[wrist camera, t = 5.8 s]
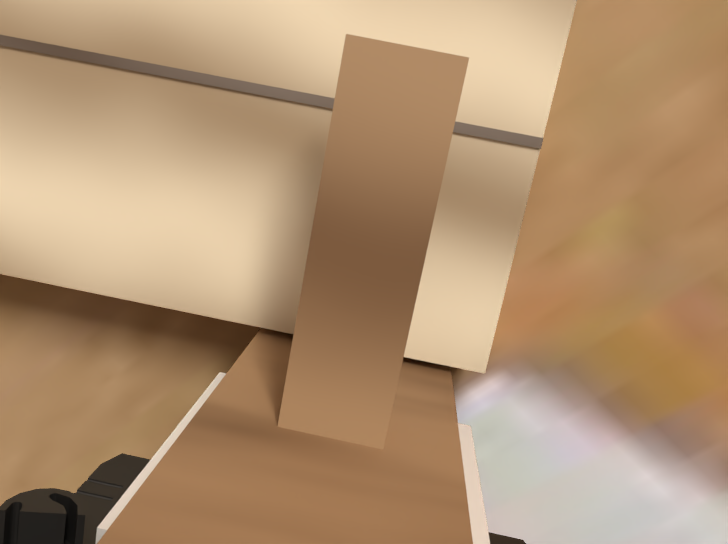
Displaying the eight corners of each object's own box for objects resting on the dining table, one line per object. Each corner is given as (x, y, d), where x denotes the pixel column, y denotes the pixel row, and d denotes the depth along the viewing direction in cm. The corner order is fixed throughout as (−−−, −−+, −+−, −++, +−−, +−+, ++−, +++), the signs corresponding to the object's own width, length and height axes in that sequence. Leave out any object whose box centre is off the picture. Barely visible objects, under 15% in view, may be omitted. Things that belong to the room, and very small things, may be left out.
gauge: (410, 514, 19) (395, 1184, 7) (243, 478, 19) (-47, 1070, 7) (510, 91, 16) (775, 10, 4) (313, 53, 16) (22, -131, 4)
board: (477, 346, 18) (485, 374, 16) (-302, 187, 19) (-387, 195, 17) (570, -38, 16) (592, -62, 14) (-325, -199, 17) (-427, -243, 15)
